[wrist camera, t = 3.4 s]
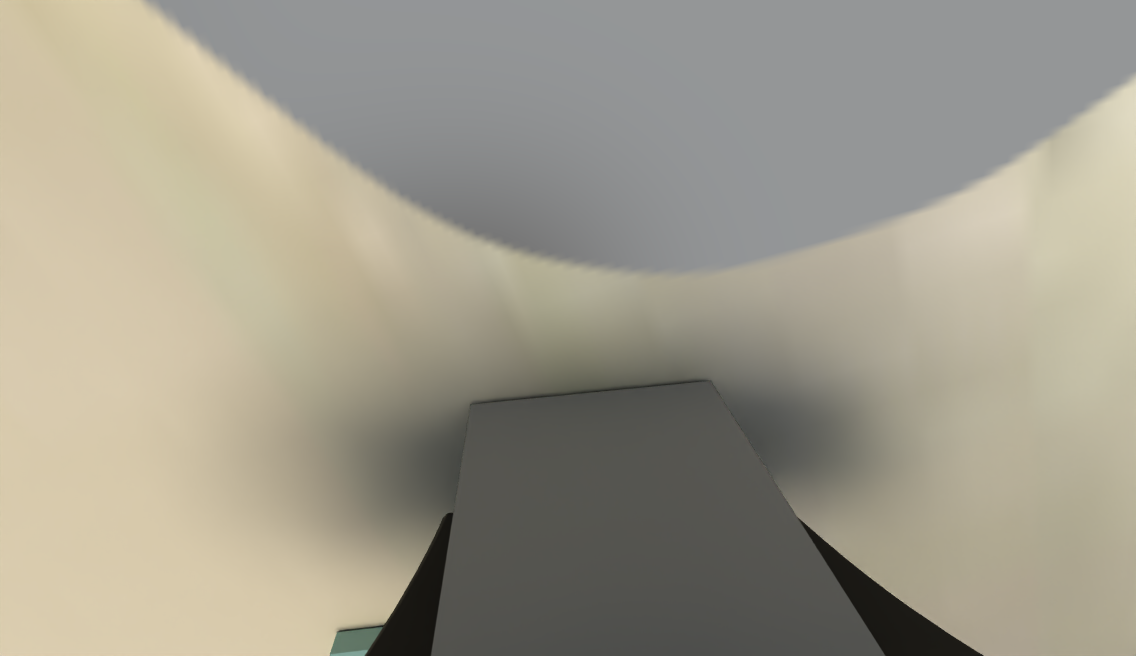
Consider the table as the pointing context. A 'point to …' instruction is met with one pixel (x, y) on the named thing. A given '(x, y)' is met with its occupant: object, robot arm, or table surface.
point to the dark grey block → (631, 537)
